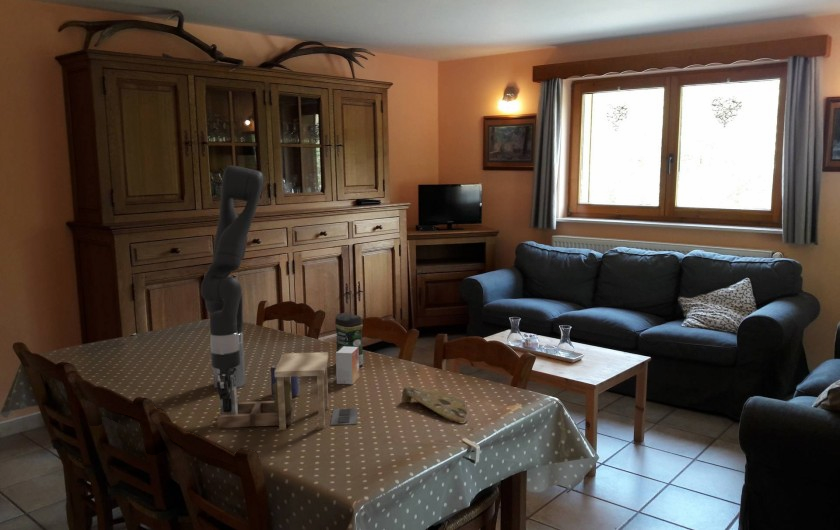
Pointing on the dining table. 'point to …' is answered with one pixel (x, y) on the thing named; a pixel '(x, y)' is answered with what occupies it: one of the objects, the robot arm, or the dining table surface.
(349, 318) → the coffee jar
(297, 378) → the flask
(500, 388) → the dining table surface
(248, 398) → the dining table surface
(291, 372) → the wooden stool
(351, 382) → the small box
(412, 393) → the decorative stone
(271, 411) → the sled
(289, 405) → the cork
